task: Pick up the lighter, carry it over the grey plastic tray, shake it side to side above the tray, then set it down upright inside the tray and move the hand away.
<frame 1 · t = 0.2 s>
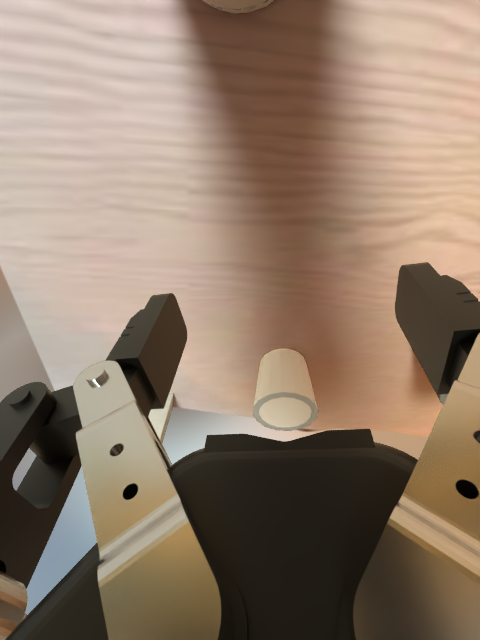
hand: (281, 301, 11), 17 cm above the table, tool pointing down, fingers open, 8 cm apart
cream cup: (282, 363, 39), on the table
white milk carton: (149, 395, 45), on the table
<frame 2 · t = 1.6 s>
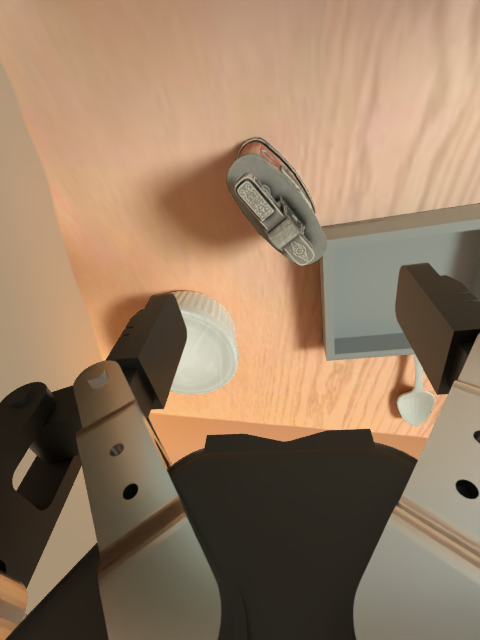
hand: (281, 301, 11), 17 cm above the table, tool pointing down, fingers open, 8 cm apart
ramekin: (192, 323, 35), on the table
lighter: (277, 184, 25), on the table
tray: (396, 282, 29), on the table
spoon: (415, 357, 35), on the table, touching tray
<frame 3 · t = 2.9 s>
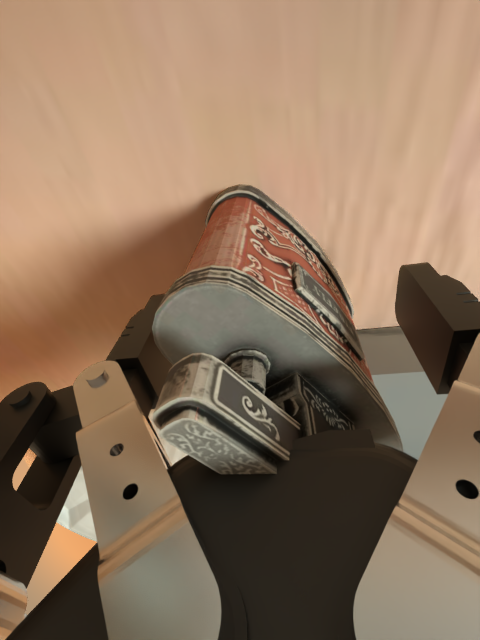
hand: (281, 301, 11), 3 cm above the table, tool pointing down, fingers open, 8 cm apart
ramekin: (154, 439, 23), on the table
lighter: (283, 263, 14), on the table
tray: (478, 407, 18), on the table
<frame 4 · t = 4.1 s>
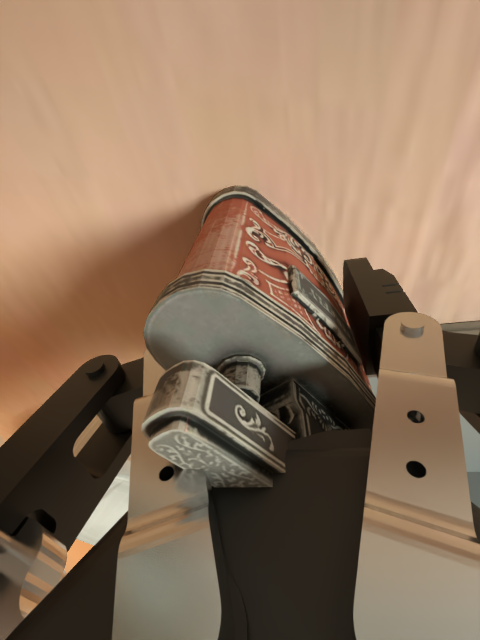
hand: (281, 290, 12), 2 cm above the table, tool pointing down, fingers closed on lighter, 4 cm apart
ramekin: (151, 440, 23), on the table
lighter: (280, 265, 14), on the table, touching gripper
tray: (477, 409, 18), on the table
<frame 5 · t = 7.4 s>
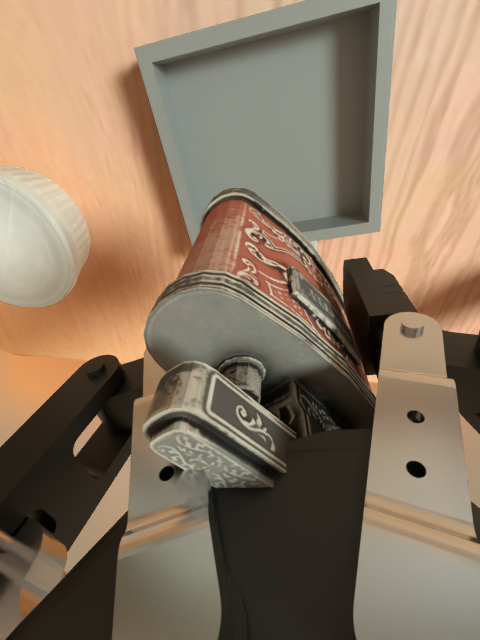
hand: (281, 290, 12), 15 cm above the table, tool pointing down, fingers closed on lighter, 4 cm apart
ramekin: (40, 222, 28), on the table
lighter: (279, 266, 14), point 13 cm above the table, touching gripper
tray: (272, 144, 23), on the table
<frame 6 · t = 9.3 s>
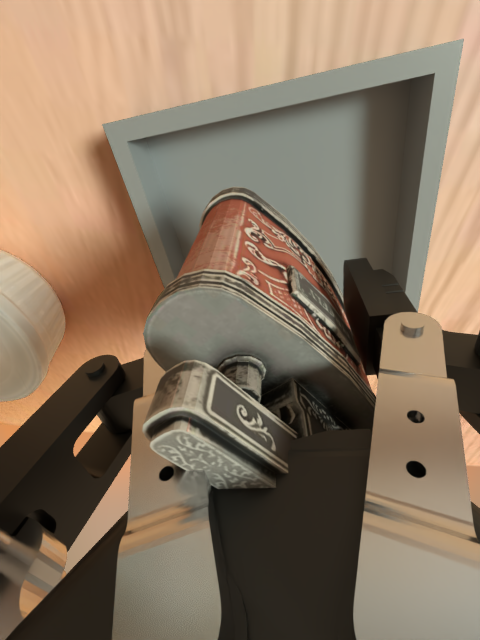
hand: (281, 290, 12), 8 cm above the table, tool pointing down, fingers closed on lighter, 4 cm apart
ramekin: (7, 296, 24), on the table
lighter: (279, 266, 14), point 6 cm above the table, touching gripper
tray: (281, 222, 18), on the table
when the fingers open (4 cm above the table, at t = 10.8 s): lighter drops 1 cm, resting on tray.
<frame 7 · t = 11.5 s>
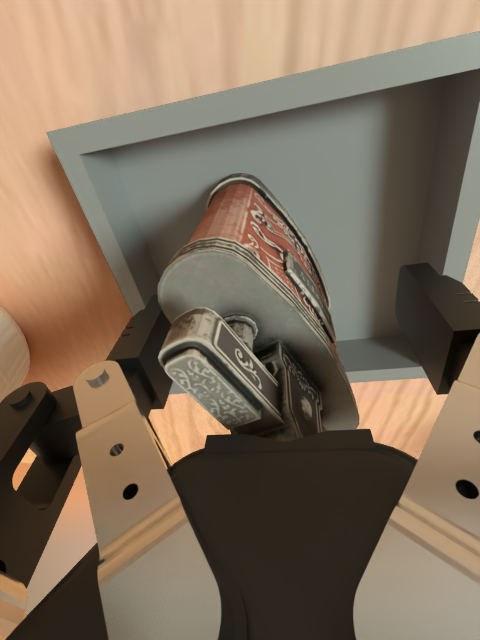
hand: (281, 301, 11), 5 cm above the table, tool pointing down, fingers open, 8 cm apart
lighter: (273, 253, 15), resting on tray
tray: (279, 248, 15), on the table
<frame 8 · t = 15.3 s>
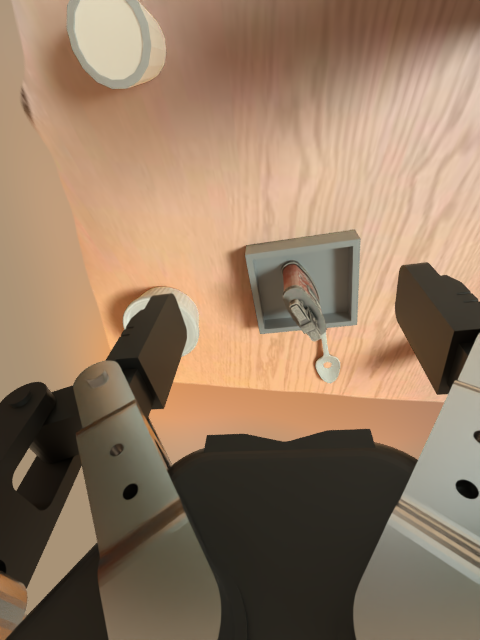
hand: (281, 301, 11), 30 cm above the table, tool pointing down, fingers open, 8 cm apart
cream cup: (138, 46, 31), on the table
ramekin: (170, 309, 50), on the table
lighter: (300, 282, 44), resting on tray
tray: (302, 281, 45), on the table
spoon: (322, 332, 51), on the table
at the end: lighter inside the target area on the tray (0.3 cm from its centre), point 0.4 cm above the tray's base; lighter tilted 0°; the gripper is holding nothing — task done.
